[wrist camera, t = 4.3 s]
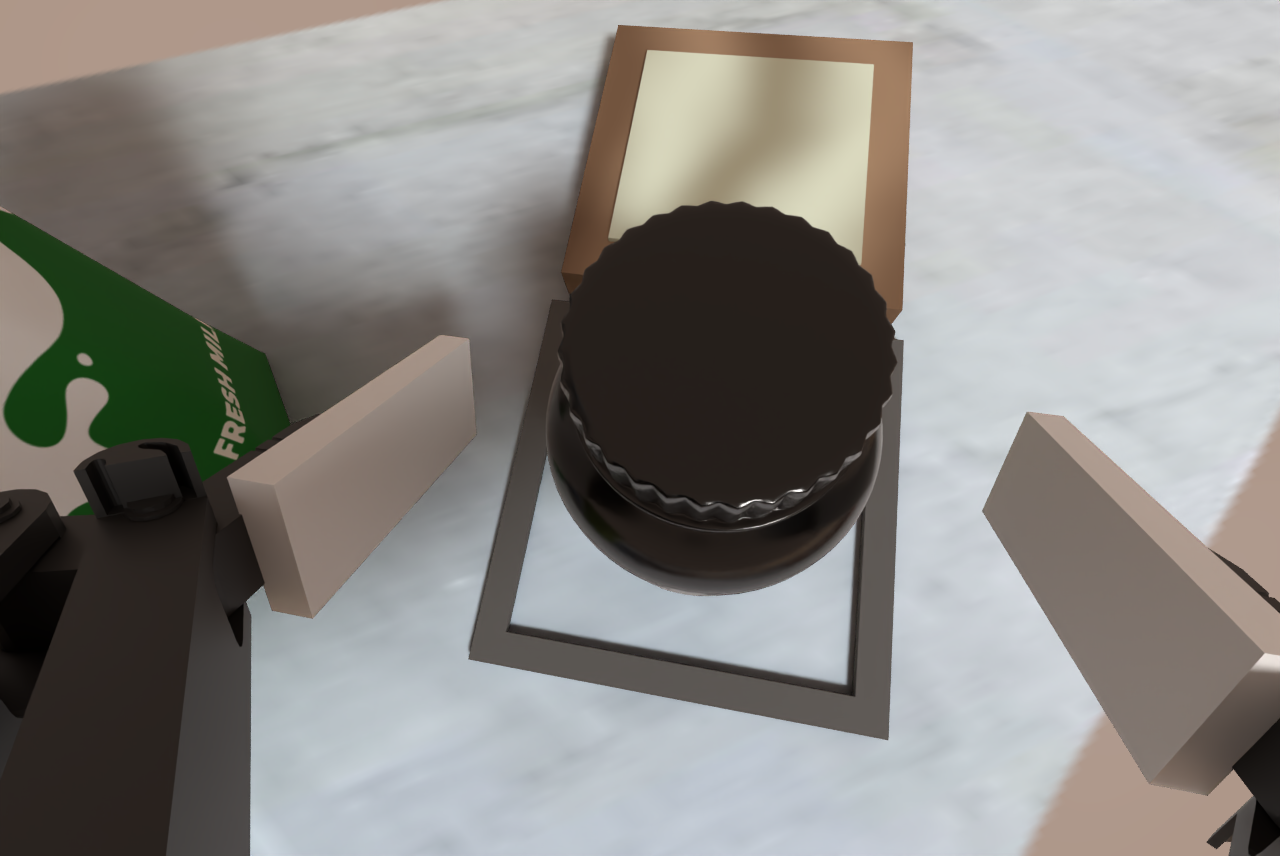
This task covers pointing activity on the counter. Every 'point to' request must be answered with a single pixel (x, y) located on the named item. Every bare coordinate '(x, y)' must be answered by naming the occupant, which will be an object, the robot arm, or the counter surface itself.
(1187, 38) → the counter surface
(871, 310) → the supplement bottle
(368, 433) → the robot arm
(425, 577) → the counter surface
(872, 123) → the walnut board
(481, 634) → the ring
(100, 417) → the milk carton
